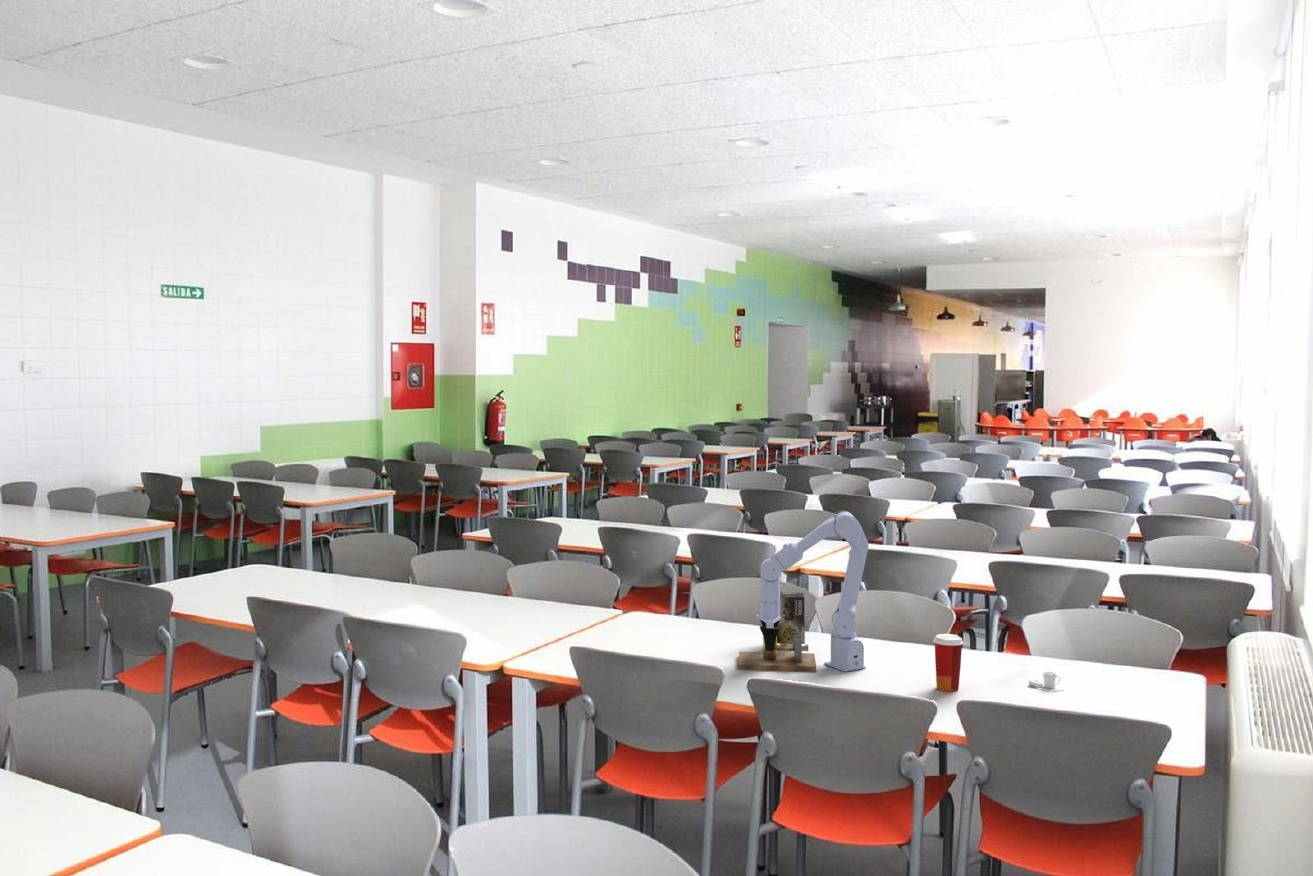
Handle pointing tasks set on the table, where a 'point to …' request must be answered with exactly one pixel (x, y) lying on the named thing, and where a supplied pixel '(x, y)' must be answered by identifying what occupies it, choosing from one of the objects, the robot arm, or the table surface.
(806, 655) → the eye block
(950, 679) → the paper cup
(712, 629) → the table surface
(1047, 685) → the teacup and saucer
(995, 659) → the table surface
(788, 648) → the gold cylinder with rod
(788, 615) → the coffee box
